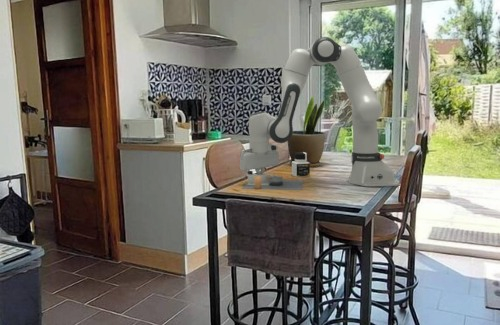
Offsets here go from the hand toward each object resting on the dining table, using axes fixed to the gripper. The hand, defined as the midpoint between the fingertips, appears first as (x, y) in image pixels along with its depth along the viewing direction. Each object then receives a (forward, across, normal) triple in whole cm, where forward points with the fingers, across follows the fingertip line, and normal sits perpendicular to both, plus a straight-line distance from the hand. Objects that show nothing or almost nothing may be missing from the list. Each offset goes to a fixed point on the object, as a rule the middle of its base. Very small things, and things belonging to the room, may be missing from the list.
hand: (260, 177), depth 197 cm
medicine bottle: (+4, +29, +4) cm, 29 cm away
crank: (+2, 0, -4) cm, 4 cm away
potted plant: (+4, +52, +26) cm, 59 cm away
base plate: (+4, +3, -8) cm, 9 cm away
